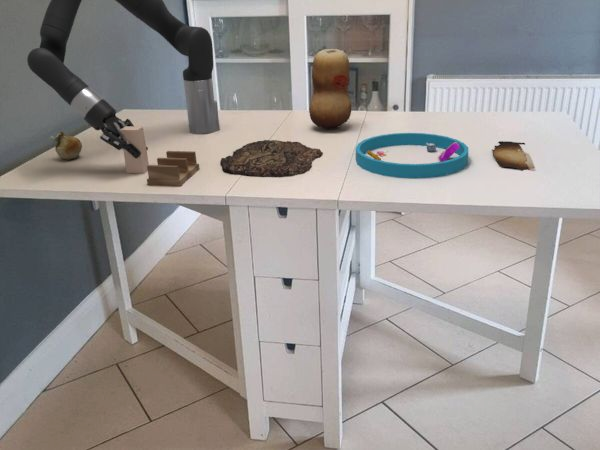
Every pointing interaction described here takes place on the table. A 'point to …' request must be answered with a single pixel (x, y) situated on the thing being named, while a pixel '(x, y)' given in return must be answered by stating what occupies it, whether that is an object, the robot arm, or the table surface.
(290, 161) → the stone relief
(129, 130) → the clay block
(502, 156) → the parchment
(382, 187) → the table surface
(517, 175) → the table surface
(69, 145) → the onion
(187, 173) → the rack
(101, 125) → the robot arm
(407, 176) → the teal plastic ring
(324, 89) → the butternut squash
